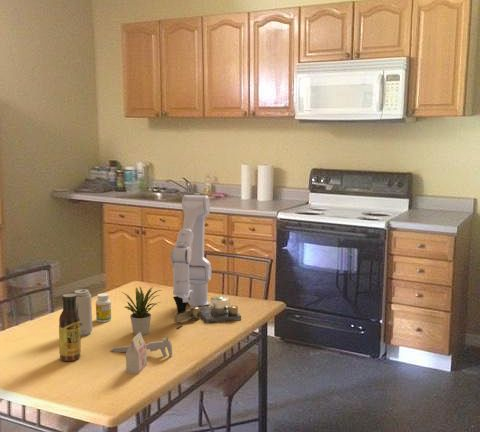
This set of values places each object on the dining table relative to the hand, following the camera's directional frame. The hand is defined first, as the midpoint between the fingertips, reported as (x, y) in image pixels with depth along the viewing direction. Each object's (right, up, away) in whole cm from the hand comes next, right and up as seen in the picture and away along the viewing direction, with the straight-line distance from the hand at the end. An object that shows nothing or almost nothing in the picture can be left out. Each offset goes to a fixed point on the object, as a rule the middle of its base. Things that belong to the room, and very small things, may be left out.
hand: (181, 315), depth 211 cm
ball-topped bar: (+2, -2, 0) cm, 3 cm away
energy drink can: (-32, -4, -13) cm, 35 cm away
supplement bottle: (-29, -2, +1) cm, 29 cm away
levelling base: (+8, -1, +3) cm, 9 cm away
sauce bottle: (-30, -7, -34) cm, 46 cm away
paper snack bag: (-9, -9, -42) cm, 43 cm away
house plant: (-11, -4, -12) cm, 17 cm away
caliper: (-10, -7, -30) cm, 33 cm away
